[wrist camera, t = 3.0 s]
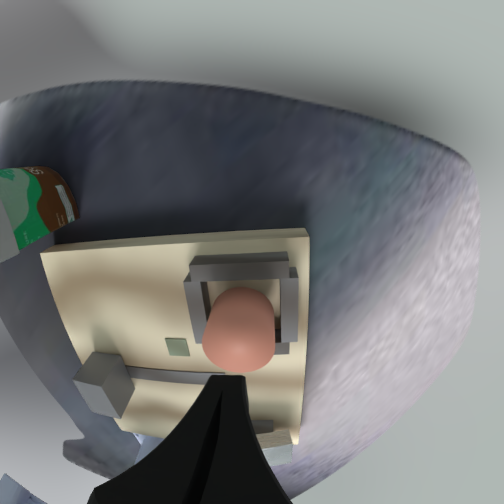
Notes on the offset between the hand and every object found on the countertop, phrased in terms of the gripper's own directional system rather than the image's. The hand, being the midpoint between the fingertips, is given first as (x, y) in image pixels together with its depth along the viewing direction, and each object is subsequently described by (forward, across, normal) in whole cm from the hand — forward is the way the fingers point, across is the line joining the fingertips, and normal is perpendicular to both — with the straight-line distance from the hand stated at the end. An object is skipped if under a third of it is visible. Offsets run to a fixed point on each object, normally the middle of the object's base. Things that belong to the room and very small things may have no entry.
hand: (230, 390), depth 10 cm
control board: (+9, +6, +7) cm, 13 cm away
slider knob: (+7, +12, +7) cm, 16 cm away
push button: (+6, 0, 0) cm, 6 cm away
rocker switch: (+4, 0, +14) cm, 15 cm away
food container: (+10, +17, -9) cm, 21 cm away
